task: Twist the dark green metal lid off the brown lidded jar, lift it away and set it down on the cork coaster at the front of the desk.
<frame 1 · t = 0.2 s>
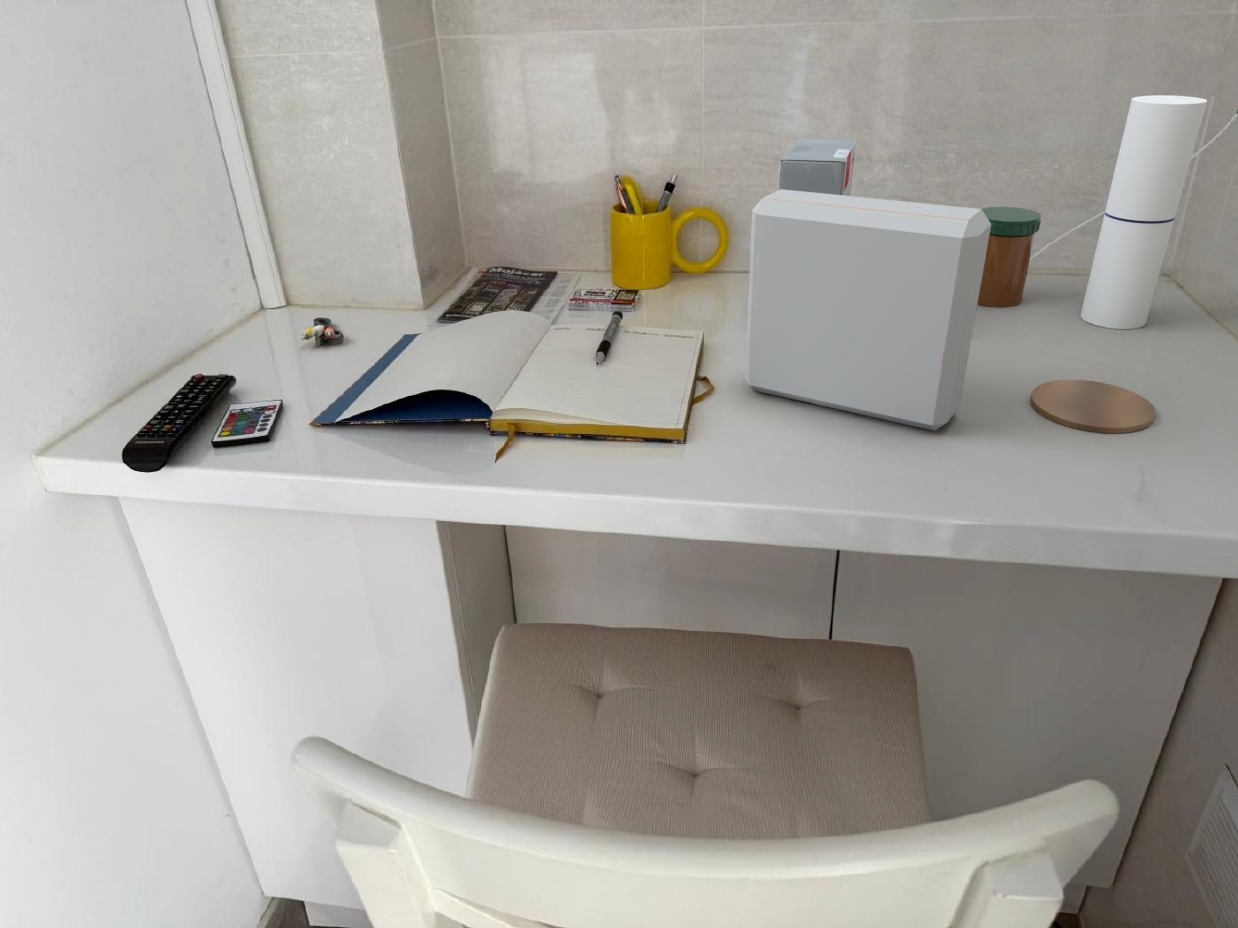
composite cable: (328, 337, 111), on the table
bevelled white case: (848, 401, 90), on the table
coaster: (1090, 407, 87), on the table
hard drive box: (806, 309, 115), on the table
jar lid: (1007, 217, 110), point 11 cm above the table, screwed on, not yet turned
brown lidded jar: (992, 298, 115), on the table
cylindrical container: (1112, 320, 107), on the table
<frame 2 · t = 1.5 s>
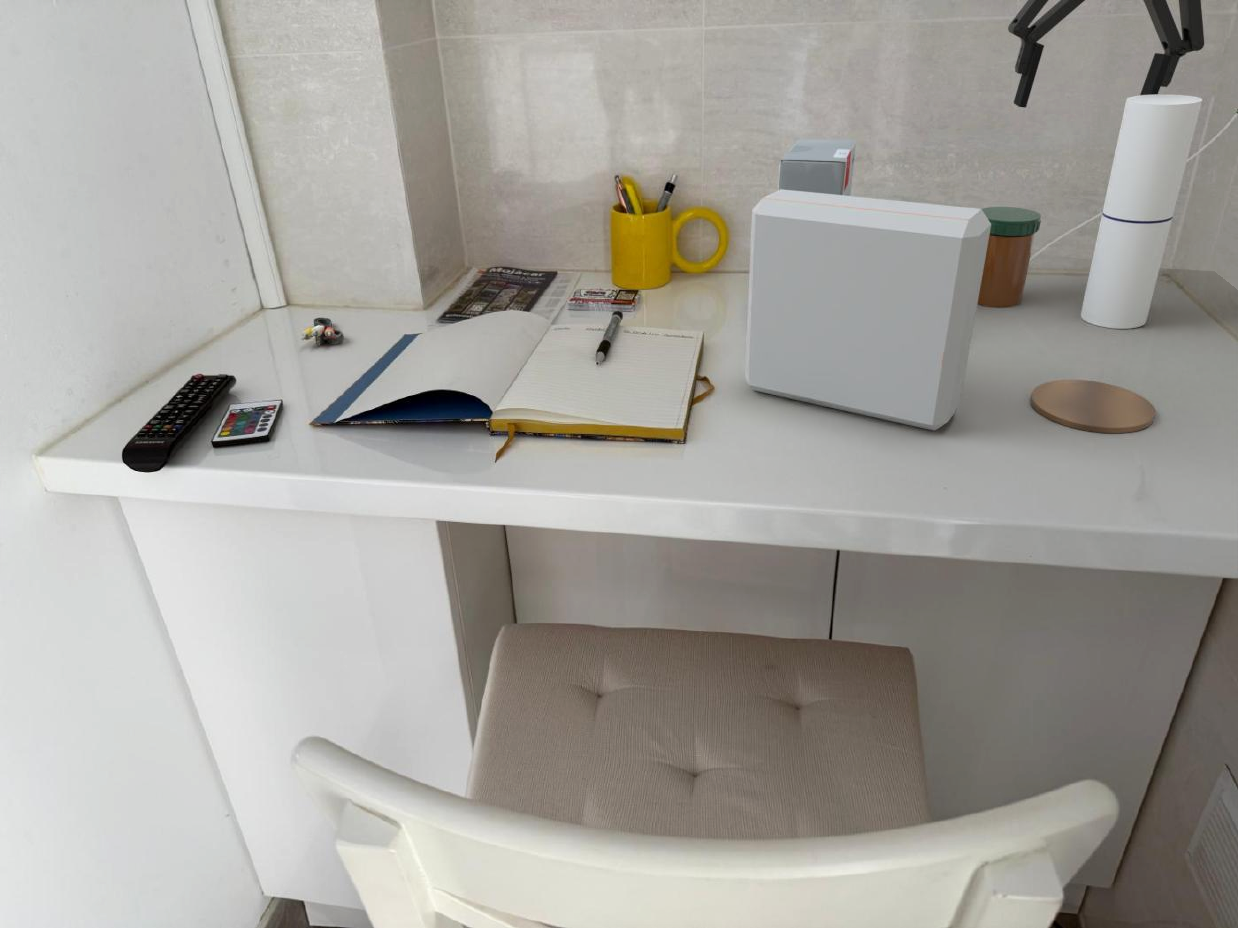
hand: (1079, 111, 101), 23 cm above the table, tool pointing down, fingers open, 13 cm apart
nothing on the table moved.
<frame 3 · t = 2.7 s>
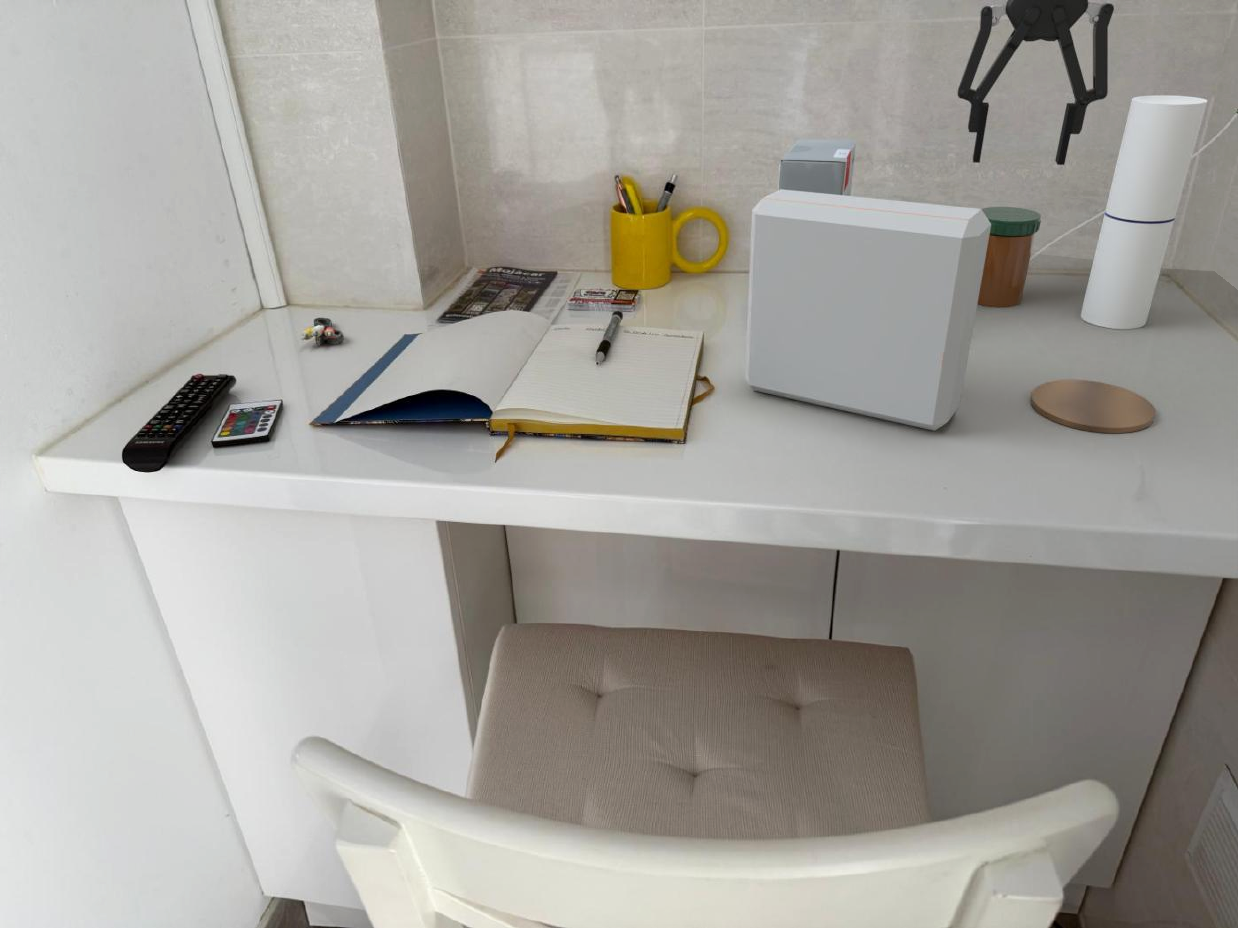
hand: (1017, 161, 107), 17 cm above the table, tool pointing down, fingers open, 9 cm apart
nothing on the table moved.
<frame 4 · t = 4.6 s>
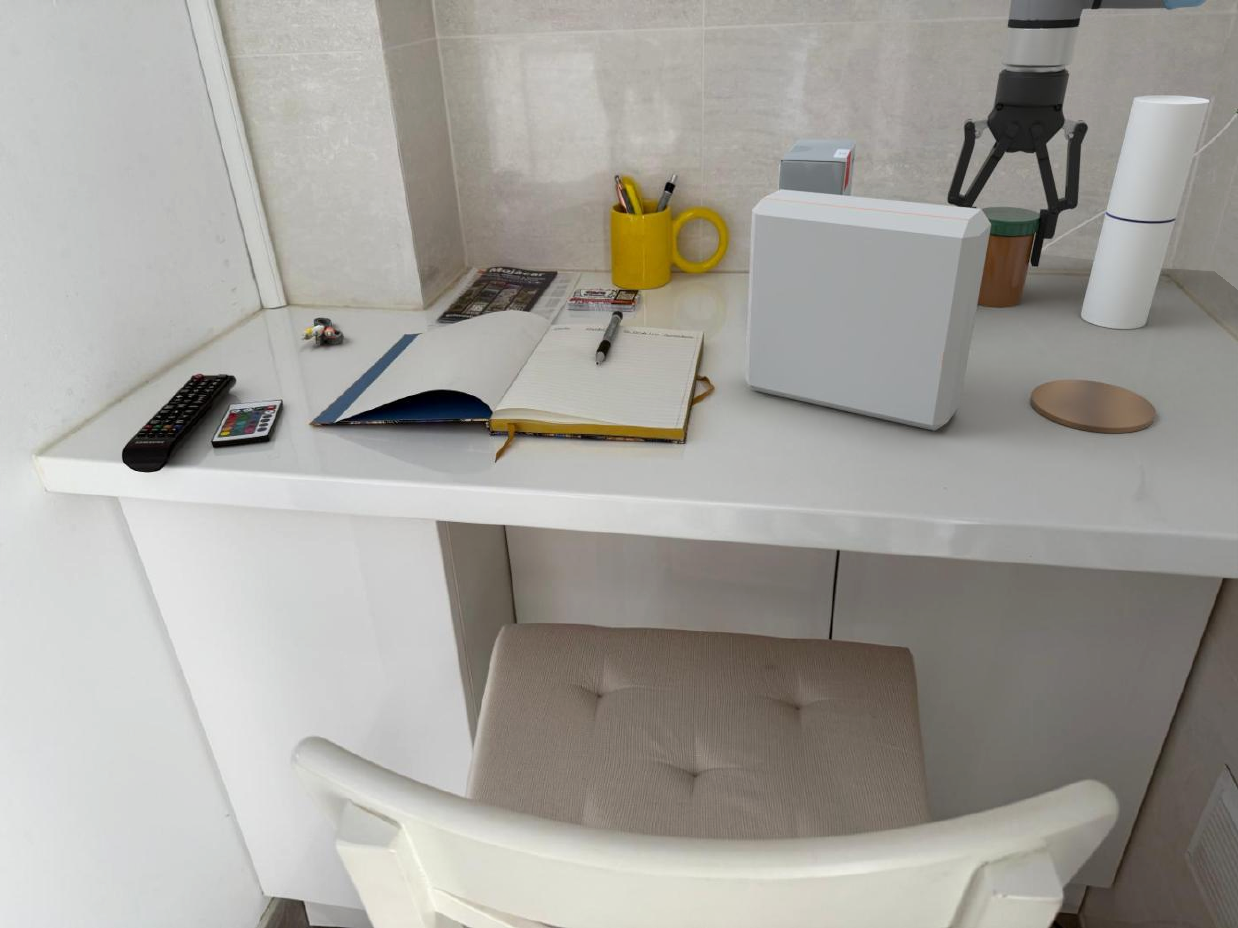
hand: (999, 261, 113), 5 cm above the table, tool pointing down, fingers closed on jar lid, 7 cm apart
jar lid: (1007, 217, 110), point 11 cm above the table, screwed on, not yet turned, touching gripper
everything else where it was.
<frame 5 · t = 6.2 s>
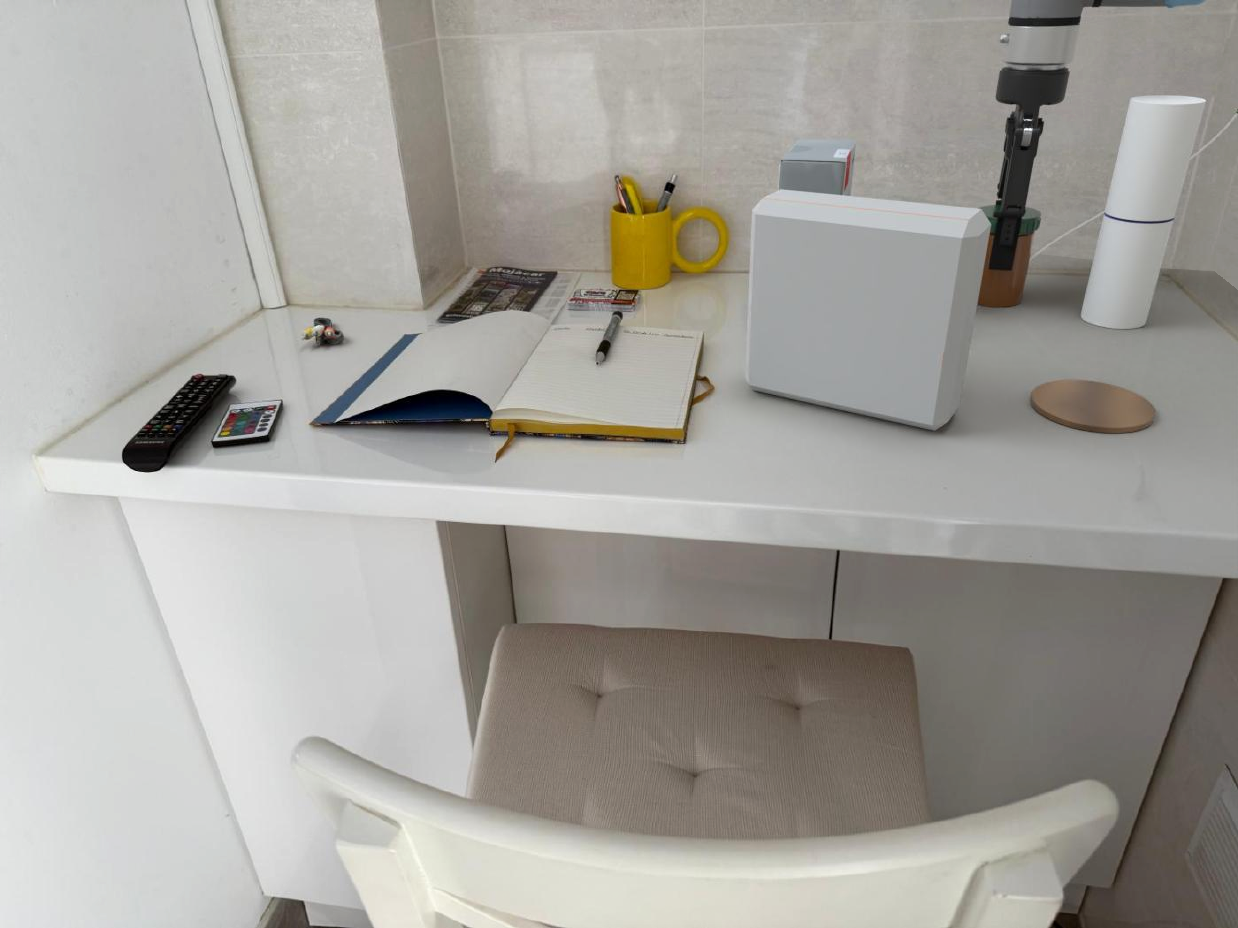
hand: (999, 259, 113), 5 cm above the table, tool pointing down, fingers closed on jar lid, 8 cm apart
jar lid: (1007, 215, 110), point 11 cm above the table, turned 89° so far, risen 0.2 cm, still on its thread, touching gripper
everything else where it was.
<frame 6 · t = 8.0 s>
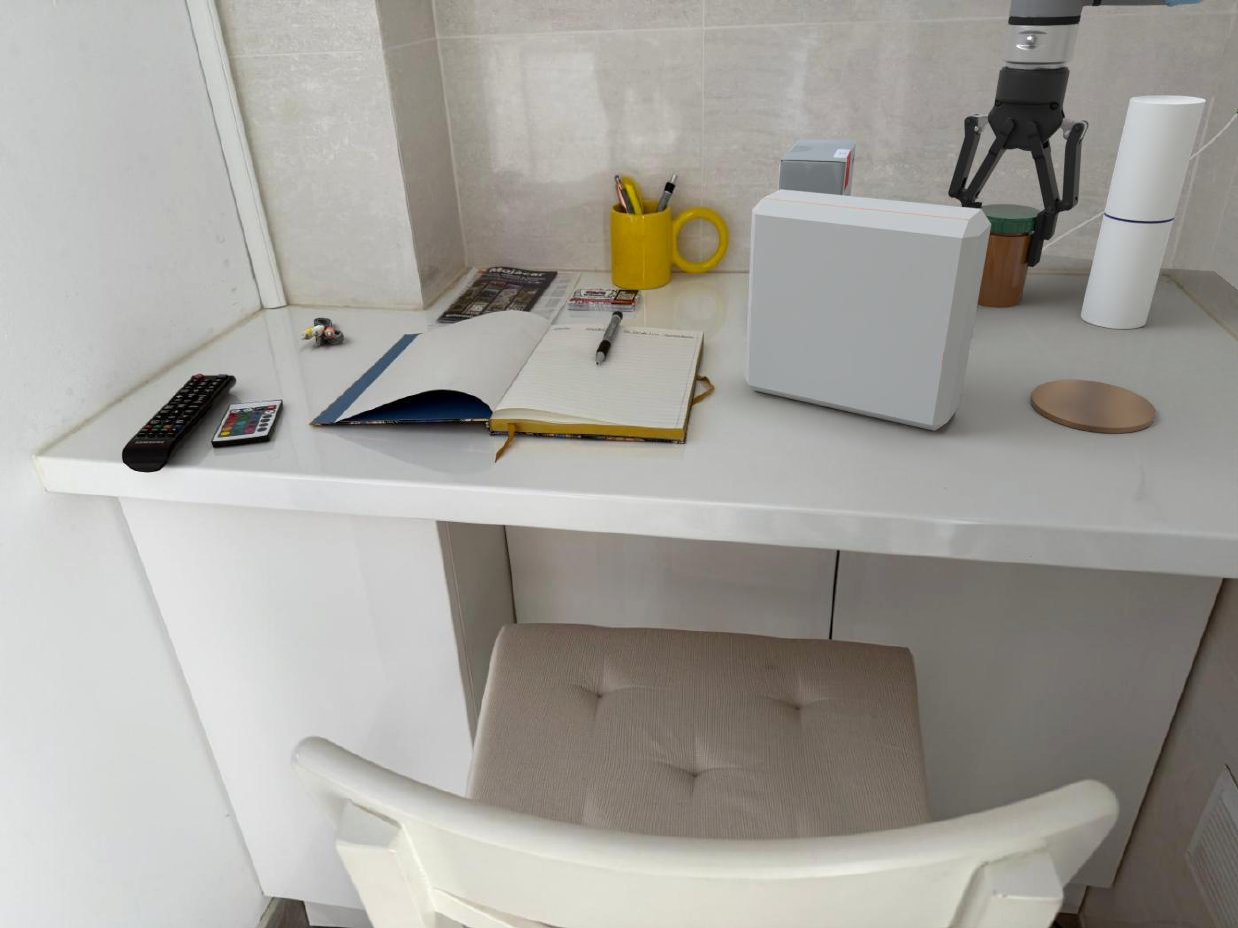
hand: (999, 259, 113), 5 cm above the table, tool pointing down, fingers closed on jar lid, 7 cm apart
jar lid: (1008, 214, 110), point 11 cm above the table, off its thread, touching gripper
everything else where it was.
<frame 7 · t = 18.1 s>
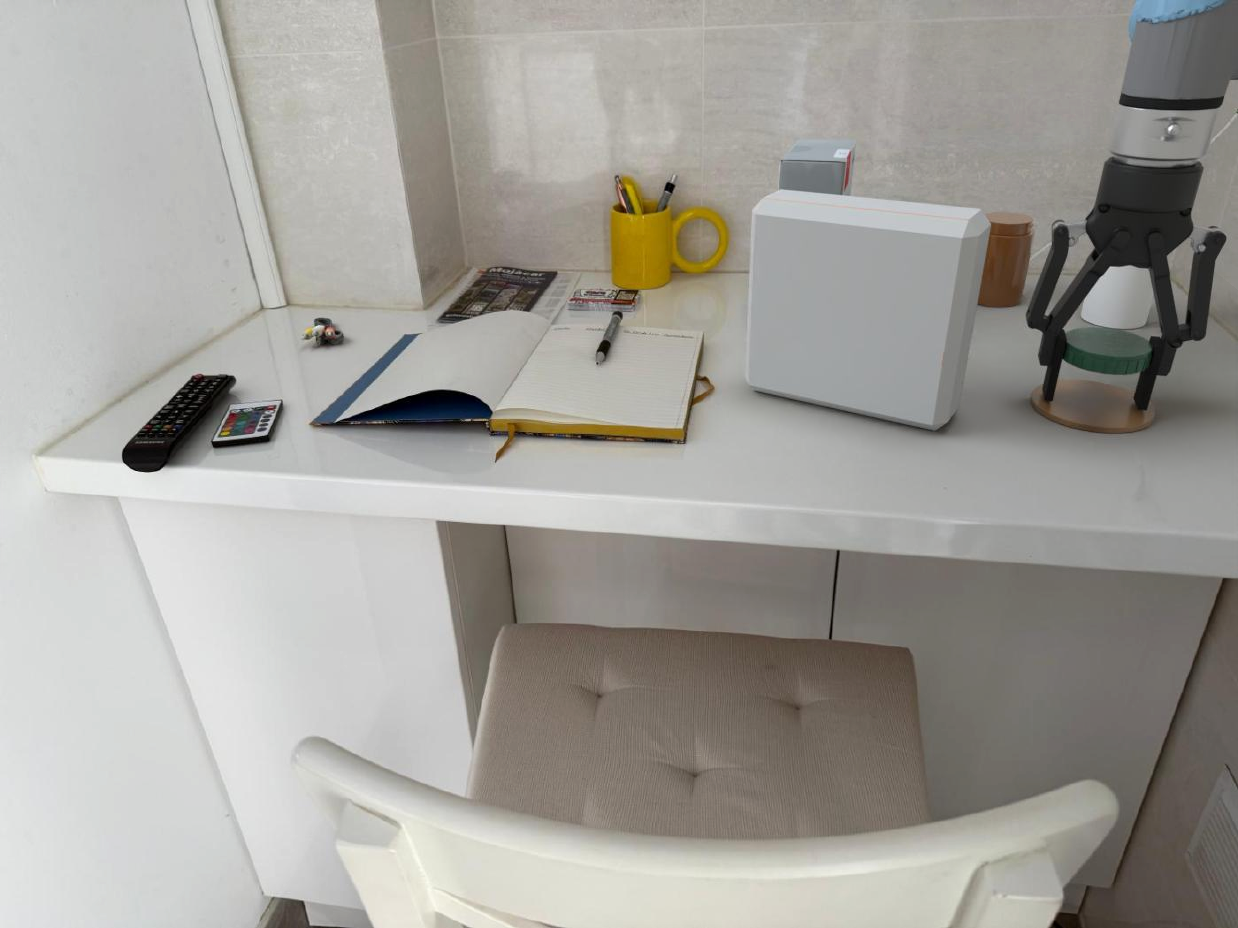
hand: (1092, 399, 86), 1 cm above the table, tool pointing down, fingers closed on jar lid, 7 cm apart
jar lid: (1106, 345, 83), point 7 cm above the table, off its thread, touching gripper
everything else where it was.
when the fingers open (3 cm above the table, at t = 27.4 s): jar lid drops 6 cm, resting on coaster.
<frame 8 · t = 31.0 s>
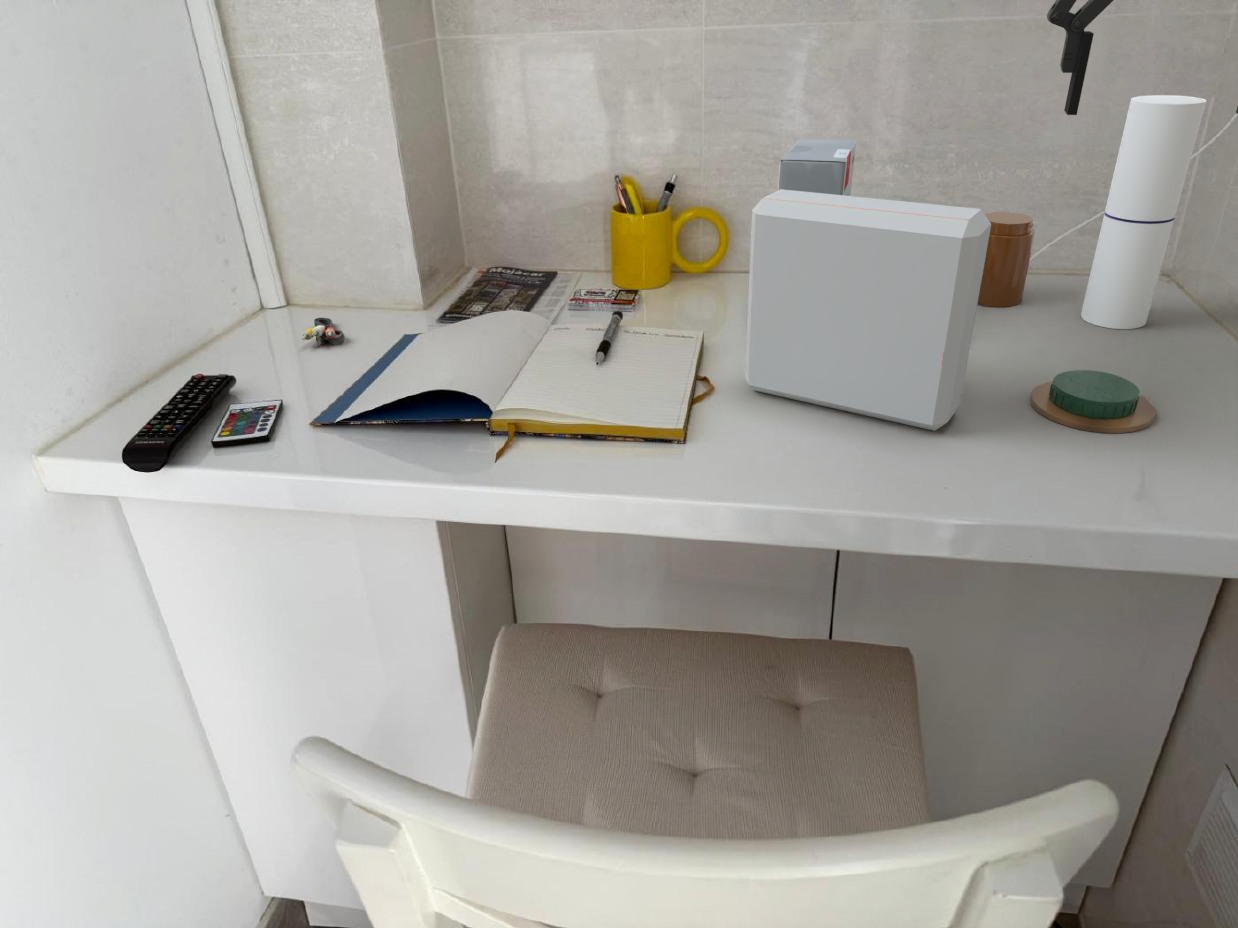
hand: (1155, 114, 77), 27 cm above the table, tool pointing down, fingers open, 13 cm apart
jar lid: (1094, 389, 86), point 2 cm above the table, off its thread, touching coaster
everything else where it was.
at the end: jar lid came off its thread; the gripper is holding nothing; jar lid inside the target area on the coaster (0.1 cm from its centre), point 2.0 cm above the coaster's base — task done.
